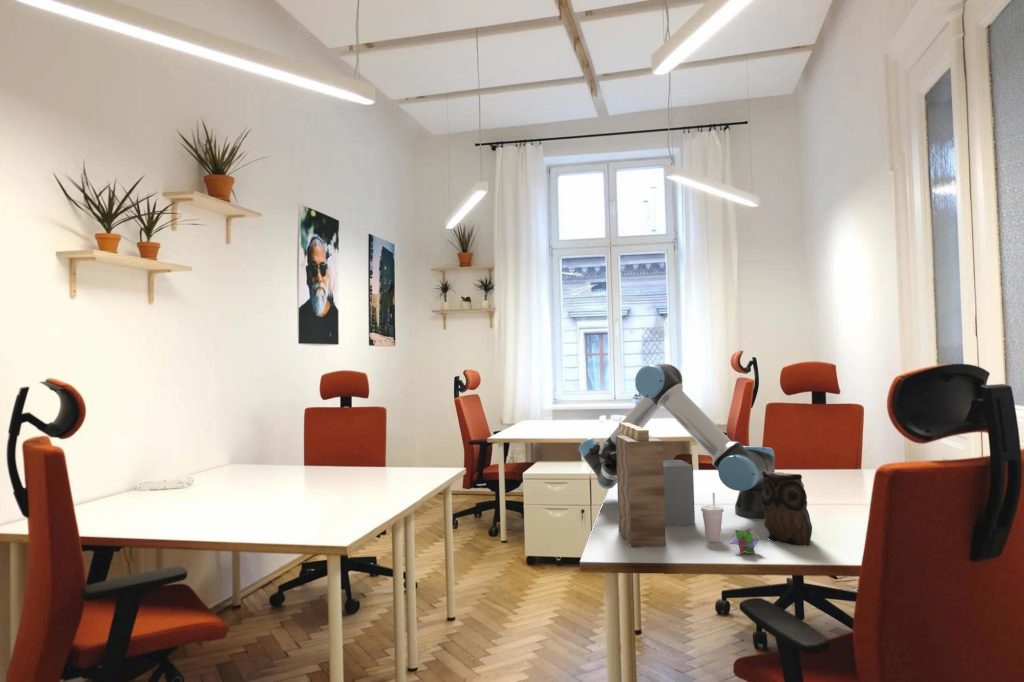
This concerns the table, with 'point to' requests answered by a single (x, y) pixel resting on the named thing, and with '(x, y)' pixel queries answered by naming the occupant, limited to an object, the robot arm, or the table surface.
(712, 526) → the smoothie
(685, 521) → the block
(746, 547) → the geometric puzzle
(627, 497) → the tall wooden pillar
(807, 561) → the table surface
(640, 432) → the notched wooden bar
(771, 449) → the robot arm
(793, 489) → the owl
